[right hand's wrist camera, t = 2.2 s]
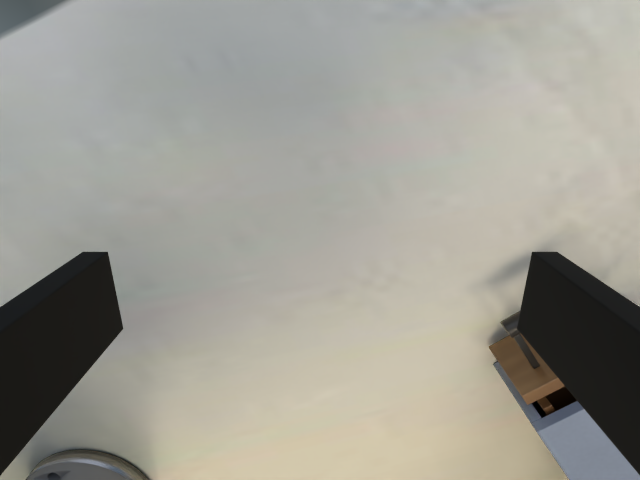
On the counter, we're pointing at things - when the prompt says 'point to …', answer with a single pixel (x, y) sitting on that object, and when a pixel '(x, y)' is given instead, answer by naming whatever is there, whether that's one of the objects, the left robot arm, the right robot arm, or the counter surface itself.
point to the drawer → (529, 370)
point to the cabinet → (575, 440)
